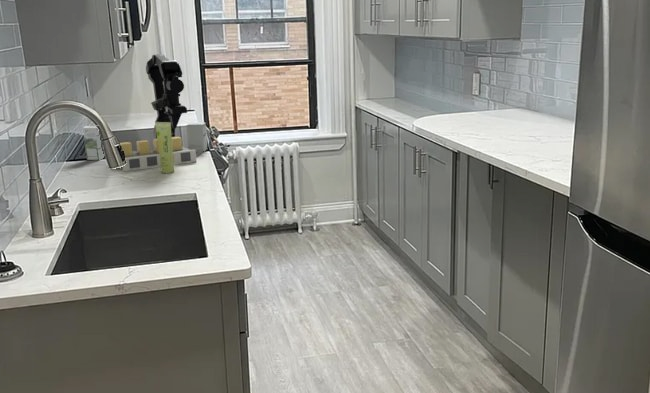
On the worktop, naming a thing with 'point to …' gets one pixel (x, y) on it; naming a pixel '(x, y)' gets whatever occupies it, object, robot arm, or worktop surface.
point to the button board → (152, 153)
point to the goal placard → (158, 160)
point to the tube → (165, 146)
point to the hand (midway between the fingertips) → (174, 128)
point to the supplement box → (197, 136)
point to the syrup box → (92, 143)
